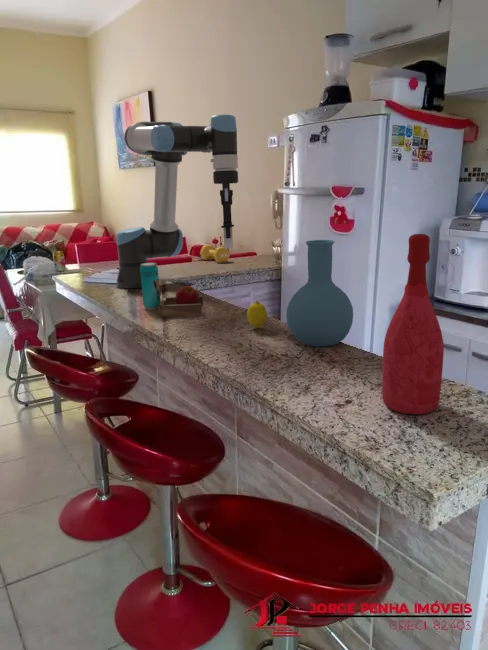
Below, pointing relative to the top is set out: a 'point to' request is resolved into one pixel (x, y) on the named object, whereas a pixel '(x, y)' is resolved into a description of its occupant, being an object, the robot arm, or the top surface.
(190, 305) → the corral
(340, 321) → the vase
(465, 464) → the top surface
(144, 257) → the robot arm
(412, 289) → the wine bottle
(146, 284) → the beverage can
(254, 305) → the fruit
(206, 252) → the dumbbell
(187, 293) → the apple
